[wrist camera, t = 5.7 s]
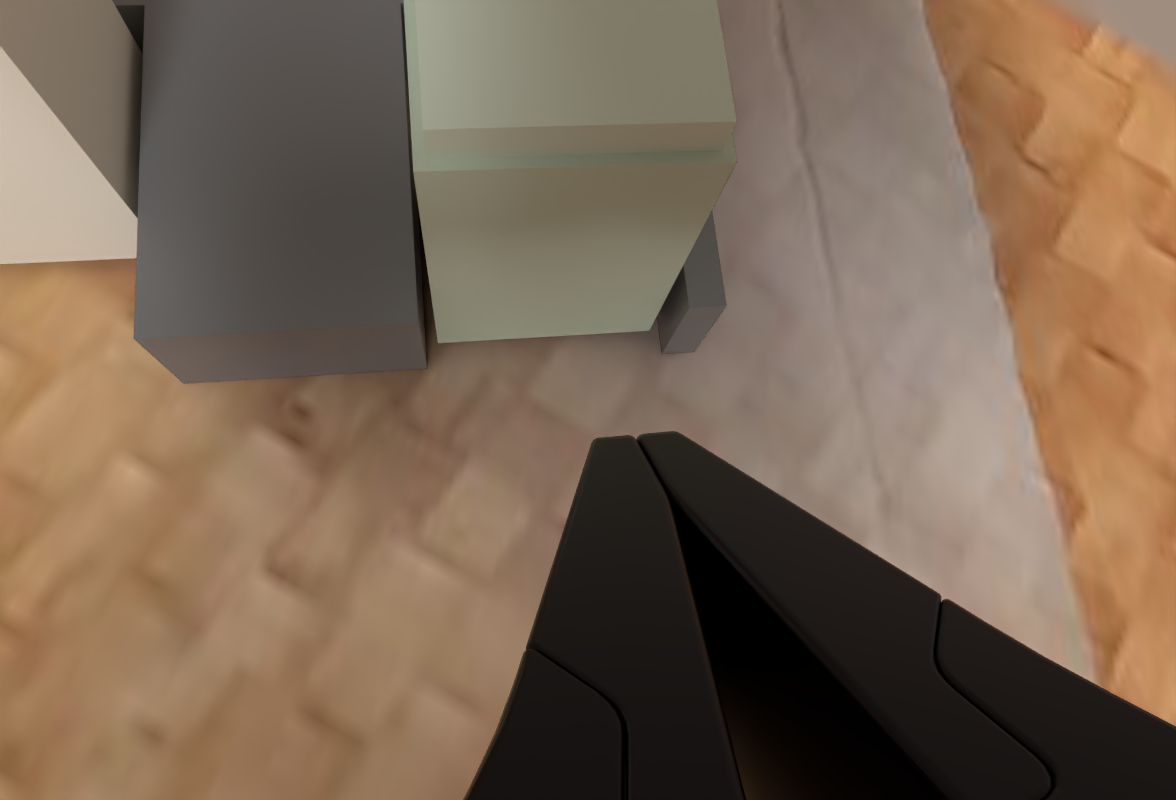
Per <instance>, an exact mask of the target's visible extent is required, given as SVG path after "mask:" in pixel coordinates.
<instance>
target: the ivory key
mask: <svg viewBox="0 0 1176 800" xmlns="http://www.w3.org/2000/svg"><path fill="white" fill-rule="evenodd" d="M142 69H143V54H142V52H141V50H140V49H139V47H138V45H137V43H136V42H135V40H134V38H133V36H132V34H131V33H130V31H129V29H128V27H127V26H126V24H125V22H124V20H123V19H122V17H121V15H120V13H119V12H118V10H117V8H116V6H115V5H114V3H113V1H112V0H0V264H15V263H37V262H60V261H83V260H106V259H129V258H136V254H137V223H138V192H139V162H140V131H141V100H142Z"/></svg>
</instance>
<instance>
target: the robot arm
mask: <svg viewBox="0 0 1176 800" xmlns="http://www.w3.org/2000/svg"><path fill="white" fill-rule="evenodd" d="M463 800H1176V727H1175V726H1174V725H1172V724H1170V723H1168V722H1166V721H1164V720H1162V719H1160V718H1158V717H1156V716H1154V715H1152V714H1151V713H1149V712H1147V711H1145V710H1143V709H1141V708H1139V707H1137V706H1135V705H1133V704H1131V703H1129V702H1128V701H1126V700H1124V699H1122V698H1120V697H1118V696H1116V695H1114V694H1112V693H1110V692H1109V691H1107V690H1105V689H1103V688H1101V687H1099V686H1098V685H1096V684H1094V683H1092V682H1090V681H1088V680H1086V679H1085V678H1083V677H1081V676H1079V675H1077V674H1075V673H1074V672H1072V671H1070V670H1068V669H1066V668H1064V667H1062V666H1061V665H1059V664H1057V663H1055V662H1053V661H1051V660H1050V659H1048V658H1046V657H1044V656H1042V655H1041V654H1039V653H1037V652H1036V651H1034V650H1032V649H1030V648H1029V647H1027V646H1025V645H1024V644H1022V643H1020V642H1019V641H1017V640H1015V639H1014V638H1012V637H1010V636H1008V635H1007V634H1005V633H1003V632H1002V631H1000V630H998V629H997V628H995V627H993V626H992V625H990V624H988V623H986V622H985V621H983V620H982V619H980V618H978V617H977V616H975V615H973V614H972V613H970V612H969V611H967V610H965V609H964V608H962V607H961V606H959V605H957V604H956V603H954V602H952V601H951V600H949V599H944V600H943V601H942V602H941V595H940V594H939V593H937V592H936V591H934V590H933V589H931V588H929V587H928V586H926V585H925V584H923V583H921V582H920V581H918V580H916V579H915V578H913V577H912V576H910V575H908V574H907V573H905V572H904V571H902V570H900V569H899V568H897V567H895V566H894V565H892V564H891V563H889V562H887V561H886V560H884V559H883V558H881V557H879V556H878V555H876V554H874V553H873V552H871V551H870V550H868V549H866V548H865V547H863V546H862V545H860V544H858V543H857V542H855V541H853V540H852V539H850V538H849V537H847V536H845V535H844V534H842V533H841V532H839V531H837V530H836V529H834V528H833V527H831V526H829V525H828V524H826V523H824V522H823V521H821V520H820V519H818V518H816V517H815V516H813V515H812V514H810V513H808V512H807V511H805V510H803V509H802V508H800V507H799V506H797V505H795V504H794V503H792V502H791V501H789V500H787V499H786V498H784V497H782V496H781V495H779V494H778V493H776V492H774V491H773V490H771V489H770V488H768V487H766V486H765V485H763V484H761V483H760V482H758V481H757V480H755V479H753V478H752V477H750V476H749V475H747V474H745V473H744V472H742V471H740V470H739V469H737V468H736V467H734V466H732V465H731V464H729V463H728V462H726V461H724V460H723V459H721V458H720V457H718V456H716V455H715V454H713V453H711V452H710V451H708V450H707V449H705V448H703V447H702V446H700V445H699V444H697V443H695V442H694V441H692V440H690V439H689V438H687V437H686V436H684V435H682V434H680V433H678V432H674V431H670V432H659V433H648V434H642V435H639V436H638V437H637V439H635V438H634V437H632V436H629V435H626V436H614V437H603V438H596V439H595V440H593V442H592V443H591V446H590V449H589V452H588V456H587V459H586V462H585V465H584V468H583V471H582V474H581V477H580V480H579V484H578V487H577V490H576V493H575V496H574V499H573V502H572V505H571V508H570V512H569V515H568V518H567V521H566V524H565V527H564V530H563V533H562V536H561V540H560V543H559V546H558V549H557V552H556V555H555V558H554V561H553V564H552V568H551V571H550V574H549V577H548V580H547V583H546V586H545V589H544V592H543V596H542V599H541V602H540V605H539V608H538V611H537V614H536V617H535V620H534V624H533V627H532V630H531V633H530V636H529V639H528V642H527V646H526V651H525V652H524V653H523V656H522V659H521V662H520V665H519V668H518V672H517V675H516V678H515V681H514V684H513V686H512V689H511V692H510V695H509V697H508V700H507V703H506V705H505V708H504V711H503V713H502V716H501V719H500V721H499V724H498V727H497V729H496V732H495V734H494V736H493V738H492V741H491V743H490V745H489V747H488V749H487V751H486V753H485V756H484V758H483V760H482V762H481V764H480V766H479V768H478V771H477V773H476V775H475V777H474V779H473V781H472V783H471V786H470V788H469V789H468V791H467V793H466V795H465V797H464V799H463Z"/></svg>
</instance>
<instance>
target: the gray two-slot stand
mask: <svg viewBox="0 0 1176 800" xmlns="http://www.w3.org/2000/svg"><path fill="white" fill-rule="evenodd" d="M112 1H113V3H114V5H115V6H116V8H117V10H118V12H119V13H120V15H121V17H122V19H123V20H124V22H125V24H126V26H127V27H128V29H129V31H130V33H131V34H132V36H133V38H134V40H135V42H136V43H137V45H138V47H139V49H140V50H141V52H142V54H143V69H142V100H141V131H140V162H139V192H138V223H137V254H136V285H135V315H134V339H135V340H136V341H137V342H138V343H139V344H140V345H141V346H142V347H144V348H145V349H146V350H147V351H148V352H149V353H150V354H151V355H152V356H154V357H155V358H156V359H157V360H158V361H159V362H160V363H161V364H162V365H164V366H165V367H166V368H167V369H168V370H169V371H170V372H171V373H172V374H174V375H175V376H176V377H177V378H178V379H179V380H180V381H181V382H182V383H184V384H185V383H201V382H217V381H233V380H250V379H266V378H282V377H298V376H314V375H330V374H346V373H362V372H378V371H394V370H410V369H426V368H427V359H426V341H425V324H424V307H423V289H422V272H421V255H420V237H419V220H418V203H417V194H416V187H415V180H414V173H413V157H412V140H411V122H410V104H409V87H408V69H407V52H406V34H405V16H404V0H112ZM725 307H726V300H725V293H724V286H723V280H722V273H721V267H720V260H719V254H718V247H717V240H716V234H715V227H714V221H713V214H712V211H711V213H710V215H709V217H708V219H707V220H706V222H705V224H704V226H703V228H702V230H701V232H700V234H699V236H698V238H697V240H696V242H695V244H694V245H693V247H692V249H691V251H690V253H689V255H688V257H687V259H686V261H685V263H684V265H683V267H682V269H681V271H680V272H679V274H678V276H677V278H676V280H675V282H674V284H673V286H672V288H671V290H670V292H669V294H668V296H667V298H666V299H665V301H664V303H663V305H662V307H661V309H660V311H659V313H658V315H657V320H658V328H659V335H660V343H661V351H662V354H668V353H684V352H694V351H695V350H696V348H697V347H698V346H699V344H700V343H701V341H702V340H703V339H704V337H705V336H706V334H707V333H708V331H709V330H710V329H711V327H712V326H713V324H714V323H715V322H716V320H717V319H718V317H719V316H720V314H721V313H722V312H723V310H724V309H725Z"/></svg>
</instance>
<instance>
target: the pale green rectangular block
mask: <svg viewBox="0 0 1176 800" xmlns="http://www.w3.org/2000/svg"><path fill="white" fill-rule="evenodd" d="M404 16H405V34H406V52H407V69H408V87H409V104H410V122H411V140H412V157H413V173H414V180H415V187H416V194H417V201H418V208H419V215H420V222H421V229H422V236H423V243H424V250H425V256H426V263H427V270H428V277H429V284H430V291H431V298H432V305H433V312H434V319H435V326H436V333H437V340H438V343H449V342H466V341H483V340H500V339H517V338H534V337H551V336H568V335H586V334H603V333H620V332H637V331H649V330H650V328H651V326H652V325H653V323H654V321H655V319H656V317H657V315H658V313H659V311H660V309H661V307H662V305H663V303H664V301H665V299H666V298H667V296H668V294H669V292H670V290H671V288H672V286H673V284H674V282H675V280H676V278H677V276H678V274H679V272H680V271H681V269H682V267H683V265H684V263H685V261H686V259H687V257H688V255H689V253H690V251H691V249H692V247H693V245H694V244H695V242H696V240H697V238H698V236H699V234H700V232H701V230H702V228H703V226H704V224H705V222H706V220H707V219H708V217H709V215H710V213H711V211H712V209H713V207H714V205H715V203H716V201H717V199H718V197H719V195H720V193H721V192H722V190H723V188H724V186H725V184H726V182H727V180H728V178H729V176H730V174H731V172H732V170H733V168H734V166H735V165H736V163H737V158H736V151H735V145H734V139H733V133H732V131H733V129H734V126H735V124H736V122H737V119H736V113H735V107H734V101H733V95H732V89H731V83H730V77H729V71H728V65H727V59H726V52H725V46H724V40H723V34H722V28H721V22H720V16H719V10H718V4H717V0H404Z"/></svg>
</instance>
